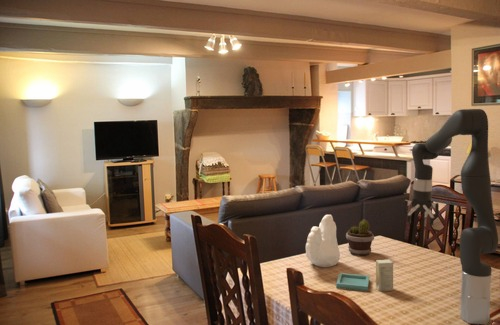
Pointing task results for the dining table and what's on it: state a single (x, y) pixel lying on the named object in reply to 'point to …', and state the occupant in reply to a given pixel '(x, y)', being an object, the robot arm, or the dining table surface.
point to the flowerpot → (360, 239)
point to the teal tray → (353, 282)
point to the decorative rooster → (323, 243)
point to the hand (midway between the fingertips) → (420, 224)
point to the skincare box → (384, 275)
